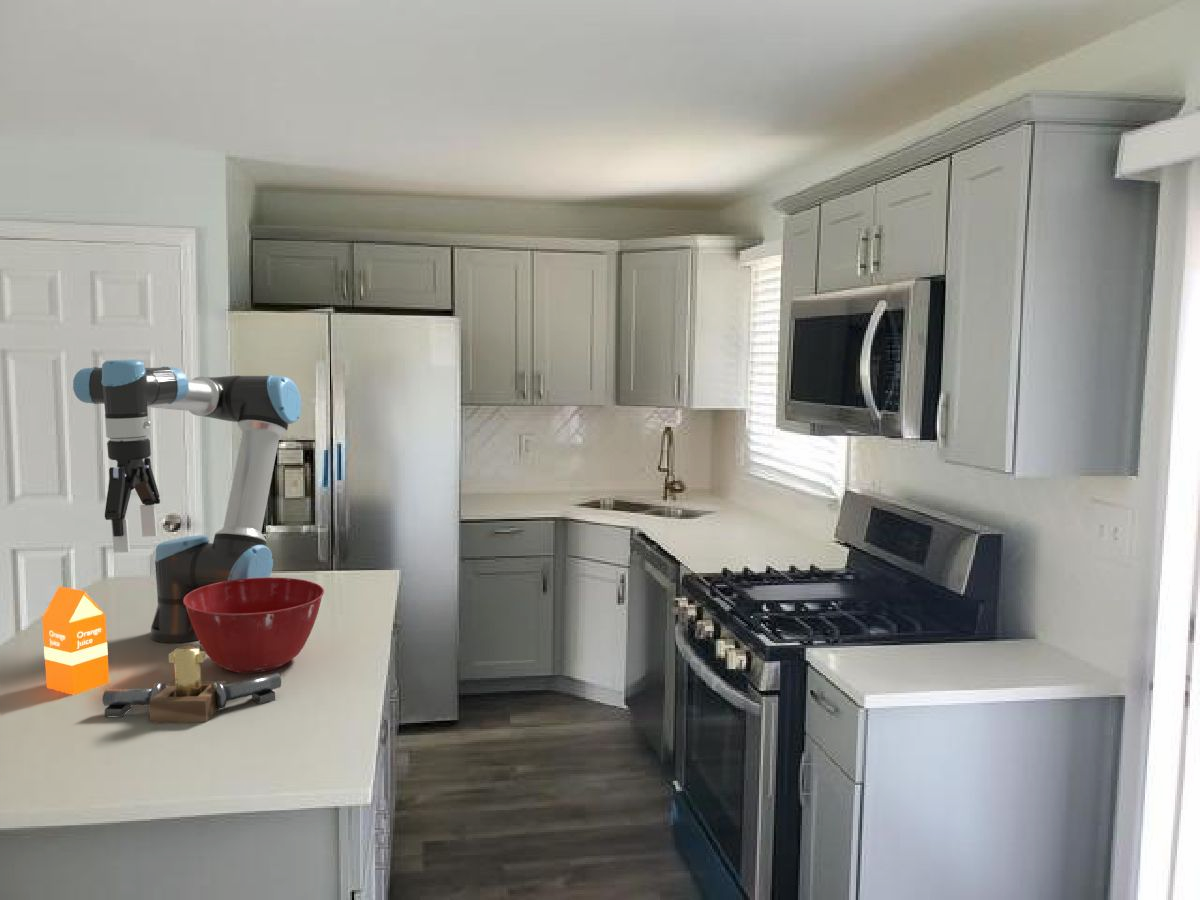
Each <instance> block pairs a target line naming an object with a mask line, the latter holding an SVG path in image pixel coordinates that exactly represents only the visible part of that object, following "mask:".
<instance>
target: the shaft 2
mask: <svg viewBox="0 0 1200 900" xmlns="http://www.w3.org/2000/svg"><path fill="white" fill-rule="evenodd" d="M221 681H222V680H217V682H213V683H212V685H211V688H213V689H214V690H215V691H216V709H218V710H219V709H224V708H225V707H226V704H227V702H229V701H233V700H236V699H241V698H245V697H249V696H251V699H253V700H254V699H255V700H256V702H257V703H258V702H259V703H258V704H260V703H261V704H264V703H263V702H265V703H268V701H269V702H272V701H271V700H273V701H275V700H276V692H275V691H273V690H277V689H280V688H281V687H282V678H281V675H280V673H278V672H274V673H270V674H269V673H268V674H266V675H261V676H257V677H253V678H250V679H245V680H241V681H236V682H233V683H229V684H225V685H224V686H223V684H222V682H221ZM255 700H254V701H255Z"/></svg>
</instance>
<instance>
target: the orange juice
mask: <svg viewBox="0 0 1200 900" xmlns="http://www.w3.org/2000/svg"><path fill="white" fill-rule="evenodd" d="M41 619H42V633H43V634H42V635H43V650H44V651H43V655H44V656H43V657H44V664H45V677H46V678H45V680H46V688H47V689H51V690H53V689H54V690H55V691H57V692H60V691H61V693H64V692H65V694H68V693H69V694H68V695H71V694H72V695H71V696H75V694H76V695H78V694H81V693H84V692H87V691H90V690H93V689H95V687H96V688H98V686H99V687H101V685H102V686H105V685H108V684H110V674H109V658H108V657H109V656H108V655H109V652H108V651H109V650H108V641H107V639H108V638H107V626H106V625H107V622H106V621H107V620H106V613H104V611H103V610H102V609H101V608H100V607H99V606H98V605H97V604H96V603H95V602H94V601H93V599H92V598H91V597H90V595H88V594H87V592H86V591H85V590H80V589H76V588H75V589H74V588H70V587H64V586H58V588H57V590H56V592H55V593H54V595H53V597H52V598H51V601H50V603H49V604H48V605H47V608H46V610H45V612H44V613H43V616H42V617H41ZM107 683H108V684H107ZM104 684H105V685H104ZM92 688H93V689H92ZM86 690H87V691H86Z"/></svg>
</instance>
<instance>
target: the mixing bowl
mask: <svg viewBox="0 0 1200 900" xmlns="http://www.w3.org/2000/svg"><path fill="white" fill-rule="evenodd" d="M324 594H325V589H324V588H323V587H322V586H321V585H320V584H318V583H316V582H313V581H310V580H306V579H300V578H299V579H298V578H294V577H293V578H292V577H271V576H270V577H267V578H248V579H238V580H231V581H225V582H219V583H215V584H211V585H207V586H204V587H201V588H198V589H196V590H193V591H192V592H190V593H188V594H187V595H186V596H185V597H184V599H183V603H184V605H185V606H186V608H187V612H188V615H189V618H190V621H191V624H192V626H193V629H194V631H195V634H196V636H197V638H198V640H197V641H199V644H200V645H201V647H202V649H203V651H205V654H206V655H207V657H209V658H210V660H211V661H212V662H213V663H215V664H216V665H218V666H219V667H222V668H224V669H225V670H227V671H230V672H233V673H242V674H247V673H248V674H251V673H252V674H253V673H254V674H255V673H256V674H257V673H263V671H264V672H268V671H272V670H276V669H279V668H281V667H283V666H285V665H286V664H288V663H289V662H290V661H292V660H293V659H294V658H295V657H297V656H298V655H299V653H300V652H301V651H302V650H303V648H304V647H305V645H306V643H307V641H308V639H309V636H310V635H311V632H312V631H313V628H314V625H315V622H316V621H317V617H318V614H319V611H320V606H321V603H322V598H323V596H324Z"/></svg>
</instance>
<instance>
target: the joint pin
mask: <svg viewBox="0 0 1200 900" xmlns="http://www.w3.org/2000/svg"><path fill="white" fill-rule="evenodd" d="M200 649H201V647H200V646H199V645H192V644H191V645H183V646H179V647H177V648H176V647H175V649H174V650H173V651H170V653H169V654H168V663H170V664H171V663H172V664H174V679H175V681H174V682H175V684H176V697H191V696H199V695H200V694H201V693H202V685H201V681H202V671H201V670H202V669H201V663H203V662H204V661H205V660H206V652H205V650H200Z"/></svg>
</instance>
